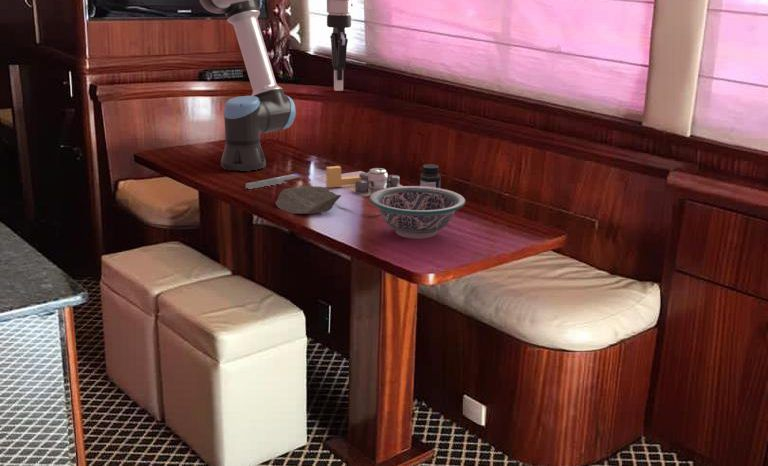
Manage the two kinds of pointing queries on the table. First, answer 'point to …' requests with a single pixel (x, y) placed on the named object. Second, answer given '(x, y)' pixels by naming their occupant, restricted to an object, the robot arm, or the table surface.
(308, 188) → the stone
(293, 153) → the table surface
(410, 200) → the bowl
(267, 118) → the robot arm
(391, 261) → the table surface
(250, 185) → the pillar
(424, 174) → the pill bottle
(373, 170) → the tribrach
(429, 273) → the table surface
